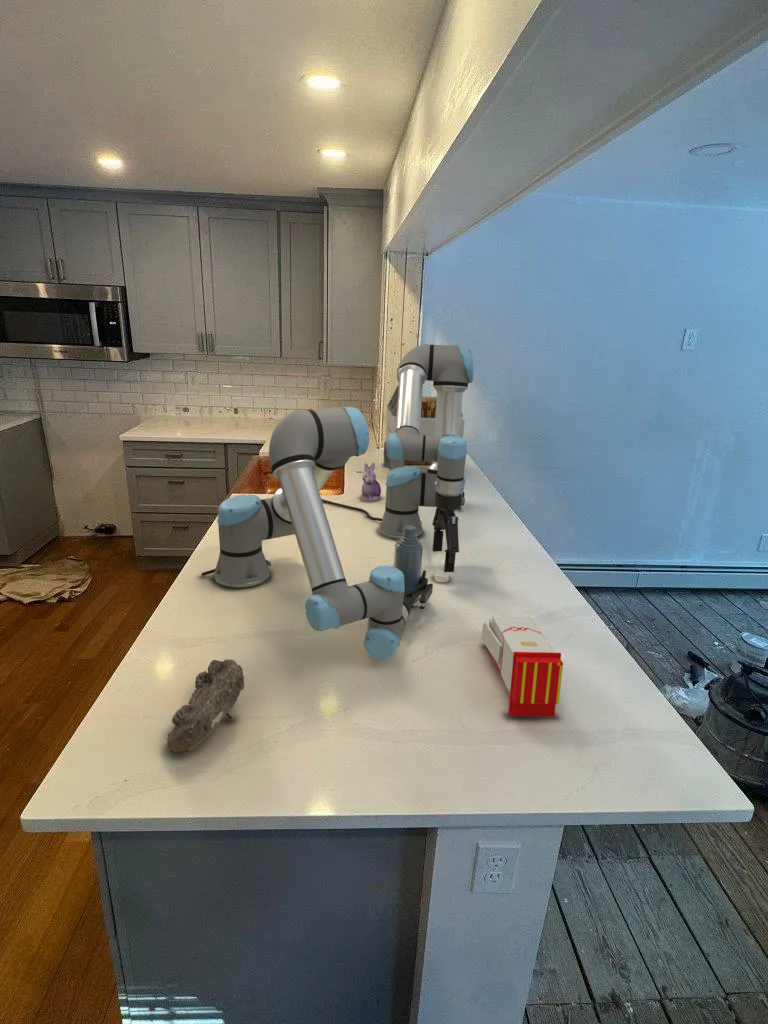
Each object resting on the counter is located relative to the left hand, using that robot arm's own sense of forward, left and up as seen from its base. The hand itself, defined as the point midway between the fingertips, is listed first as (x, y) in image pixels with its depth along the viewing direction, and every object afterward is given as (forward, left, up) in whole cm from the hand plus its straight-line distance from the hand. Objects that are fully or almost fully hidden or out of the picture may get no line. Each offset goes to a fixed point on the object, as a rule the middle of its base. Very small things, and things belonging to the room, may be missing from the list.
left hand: (409, 572), depth 157 cm
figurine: (-30, +77, -6) cm, 82 cm away
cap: (+8, +11, -5) cm, 14 cm away
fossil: (-27, -61, -6) cm, 67 cm away
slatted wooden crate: (-17, +122, -6) cm, 124 cm away
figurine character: (+5, +79, -6) cm, 80 cm away
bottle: (0, -5, -6) cm, 8 cm away
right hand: (+8, +11, 0) cm, 14 cm away
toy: (+29, -31, -6) cm, 43 cm away
